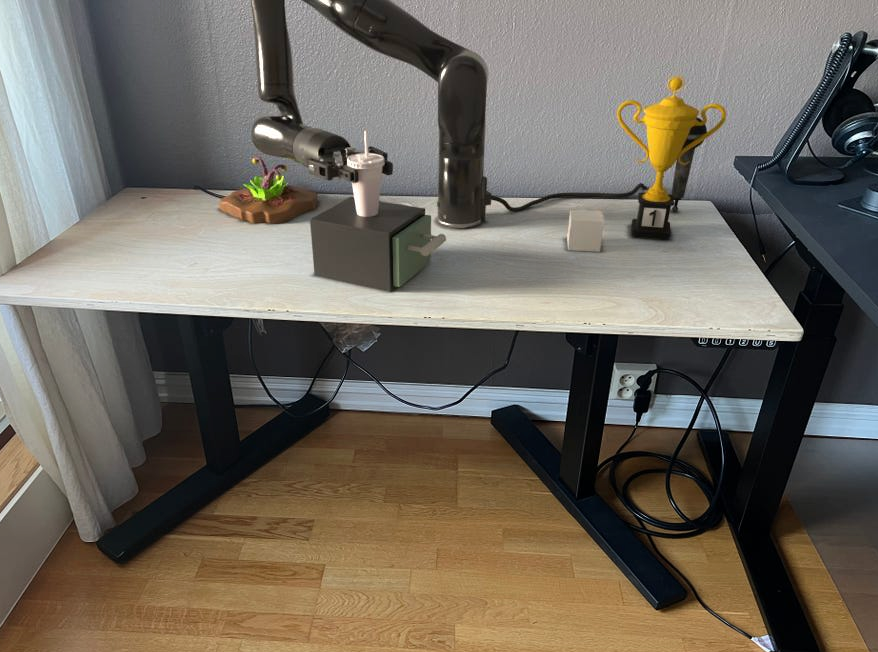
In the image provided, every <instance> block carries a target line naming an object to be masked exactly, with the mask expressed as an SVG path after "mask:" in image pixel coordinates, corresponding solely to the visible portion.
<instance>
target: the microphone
mask: <svg viewBox="0 0 878 652" xmlns="http://www.w3.org/2000/svg"><path fill="white" fill-rule="evenodd" d="M696 120H697V121H698V122H702V121H703V119H702V118H700V117H698V116H697V118H696ZM707 132H708V129H707V126H706V124H704V125H702V126H693V127H692V128H691V129H690V132H689V133H688V136H687V138H686V140H685V143H684V145H683V147H682V149H684V148H685V147H686V146H688V145H689V144H691V143H692V142H694V141H695V140H697V139H698V138H700V137H701V136H703V135H704V134H706V133H707ZM704 142H705V140H703V141H702V142H700V143H699V144H697V145H695V146H694V147H692V148H691V149H689V150H687V151H686V152H684V153H683V154H682V155H681V157H680V161H681V162H683V163H687V162H689V161H690V162H689V163H688V164H686V165H682V164H680V163H679V162H678V158H677V160H676V162H675V169H674V175H673V180H672V181H673V182H672V188H671V193H670V194H671V195H673V198H674V205H673V206H671V211H672V212H673V213H677V212H678V211H679V201H681V200H682V199H684V197H685V195H686V190H687V186H688V182H689V178H690V177H689V176H690V173H691V168H692V163H693V160H694V155H695V151H696V148H698V147H700V146H701V145H702V144H703V143H704ZM682 149H681V150H682Z"/></svg>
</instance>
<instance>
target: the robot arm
mask: <svg viewBox="0 0 878 652" xmlns="http://www.w3.org/2000/svg"><path fill="white" fill-rule="evenodd" d="M301 2H303V3H305V4H306V5H309V6H310V7H311V8H312V9H314V10H315V11H316V12H317V13H318V14H320V15H321V16H322V17H323V18H324V19H326V21H328V22H330V23H331V24H332V25H333V26H334V27H336V28H337V29H338V30H340V31H341V32H343V34H346V35H347V36H349V37H351V38H352V39H354V40H355V41H357V42H358V43H359V44H362V45H363V46H365V47H366V48H368V49H370V50H372V51H374V52H376V53H379V54H381V55H383V56H386V57H389V58H391V59H394V60H398V61H399V62H403V63H406V64H408V65H411V66H413V67H415V68H416V69H418V70H419V71H421V72H423V73H424V74H426V76H429V77H430V78H431V79H432V80H434V81H435V82H436V83H437V126H438V177H437V178H438V179H437V181H438V182H437V183H438V185H437V195H438V196H437V201H436V208H437V217H436V218H437V223H438V224H440V225H441V226H443V227H447V228H452V229H468V228H469V229H470V228H474V227H476V226H479V225H481V224H482V223H486V213H487V212H486V211H487V206H491V205H492V201H495V202H497V203H500V204H501V205H503V207H504V208H505V209H506V210H507V211H509V212H511V213H512V212H513V213H516V212H521V211H524V210H526V209H529V208H530V207H532V206H535V205H538V204H541V203H543V202H545V201H548V200H552V199H558V198H575V197H576V198H607V199H608V198H611V199H612V198H613V199H615V198H616V199H617V198H618V199H620V198H628V197H631V196H633V195H635V194H636V193H637V192H638V191H639V190H640V189H642V190H643V191H644V190H646V191H647V190H648V188H647V186H646V185H645V184H644V183H642V182H640V183H638V184H637V185H636V186H635V187H634V188H633V189H632V190H630V191H628V192H627V191H626V192H620V193H619V192H618V193H617V192H616V193H613V192H612V193H609V192H559V193H557V192H556V193H551V194H548V195H545V196H542V197H540V198H537V199H534V200H531V201H529V202H527V203H525V204H523V205H521V206H518V207H513V206H511V205H510V204H509V203H508V201H506V200H505V199H504V198H502V197H499V196H495V195H493V194H492V192H490V191H489V190H487V189H488V177H486V175H484V172H485V149H486V148H485V145H486V129H487V128H486V127H487V125H486V115H487V113H486V110H487V92H488V91H487V90H488V81H489V68H488V65H487V63H486V61H485V59H484V58H483V57H482V56H481V55H480V54H478V53H477V52H476V51H473V50H471V49H469V48H467V47H464V46H462V45H461V44H458V43H456V42H454V41H452V40H450V39H448V38H446V37H444V36H442V35H440V34H439V33H437V32H435V31H433V30H432V29H431V28H429V27H428V26H427V25H425V24H424V23H423V22H421V21H420V20H419V19H417V18H416V17H415V16H414V15H412V14H410V13H409V12H408V11H406V10H405V9H404V8H402V7H401V6H400V5H398V4H396V3H395V2H394V1H392V0H301ZM250 7H251V13H252V22H253V32H254V48H255V49H254V50H255V67H256V68H255V69H256V82H257V83H256V84H257V94H258V97H259V99H260V100H261V101H262V102H264V103H268V104H272V105H275V106H276V107H277V109H278V111H279V113H280V115H262V116H260V117H258V118H256V119H255V120H254V122H253V123H252V125H251V128H250V137H251V141H252V143H253V145H254V147H255V148H256V149H257V150H258V151H259V152H261V153H262V154H265V155H267V156H272V157H277V158H284V159H289V160H292V161H293V162H295V163H297V164H301V165H302V166H303V167H305V168H306V169H308V174H309V175H312V176H314V177H317V178H320V179H323V180H325V181H328V182H329V181H330V182H331V181H332V180H334V178H336V179H337V180H339V181H340V180H346V181H348V182H350V183H351V184H352V183H357V182H358V181H359V177H358V170H357V169H355V168H352V167H350V166H348V165H347V158H348V157H349V156H351V155H355V154H361V153H365V149H364V150H363V149H357V148H356V147H352V146H351V144H350V143H349V141H348V140H347V139H346V138H345V137H343V136H341V135H339V134H336V133H333V132H330V131H327V130H324V129H322V128H317V127H312V126H310V125H307V124H304V121H303V119H302V116H301V112H300V109H299V104H298V100H297V98H296V94H295V85H294V84H295V80H294V61H293V51H292V45H291V39H290V35H289V34H290V33H289V29H288V21H287V15H286V14H287V13H286V0H250ZM368 153H373V154H378V155H381V156H383V157H384V162H385V164H384V165H383V168H382V175H385V176H391V175H393V174H394V173H393V172H394V164H393V162H391V161H390V160H388V156H389V153H388V152H386V151H384V150H382V149H379V148H377V147H375V146H368ZM644 185H645V186H644Z"/></svg>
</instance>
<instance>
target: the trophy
mask: <svg viewBox="0 0 878 652" xmlns="http://www.w3.org/2000/svg"><path fill="white" fill-rule="evenodd" d="M685 83H686V82H685V79H684V78H683V76H681V75H673V76H672V77H670V78H669V79H668V80H667V85H666V86H667V89H668V90H669V91H670V92H671V93H673V94H672V95H671V96H666V97H664V98H663V99H662V100H661V101H660V102H656V103H653V104H650V105H647V106H645V107H644V108H643V107H642V105H641V103H640V102H639V101H637V100H632V99H631V100H626V101H623V102H622V103H621V104H620V105H619V106H618V108H617V111H616V117H617V121H618V123H619V125H620V127H621V128H622V130H624V132H625V133H626V134H627V135H628V136H629V137H630V138H631V139H632V140H633V141H634V142H635V143H636V144H637V145H638V146H639V147H640V148H642V149H643V151H644V153H646V156H645V158H644V159H641V160H640V159H639V158H638V157H636V161H637V162H638V163H644V162H646V161H648V160H649V163H650V165H651V167H652V168H654V170H655V171H656V175H655V181H654V183H653V185H652V186H651V187H649V188H648V189H647V190H646V191H641V192H638V194H637V202H638V209H637V215H636V218H632V220H631V223H630V224H631V225H630V236H631V237H632V238H636V239H637V238H638V239H647V240H648V239H649V240H662V241H669V240H671V234H672V229H671V222H670V221H669V220H670V219H669V218H670V213H671V210H672V207H673V206H674V203H675V200H674V198H673V195H671V194H672V193H668V192H667V189H666V188H665V187H664V184H663V183H664V178H665V176H664V173H665V172H667V171H669V169H671V168H673V166H674V165H676V161H677V158H678V162H679V163H680V164H682V165H686V164H688V163H689V162H690V161H689V162H687V163H683V162H681V161H680V157H681V155H682V154H683V153H684V152H686V151H687V150H689V149H691V148H692V147H694V146H695V145H697V144H699V143H700V142H702V141H703V140H704V141H705V140H706V139H708V138H709V137H711V136H712V135H714V133H716V132H718V130H719V129H720V128H722V126H723V125H724V123H725V122H726V118H727V112H726V111H727V110H726V109H725V107H724V106H723V105H722V104H719V103H710V104H707V105H705V106H704V107H703V108H702V109H701V111H700V110H698V108H696V107H694V106H693V105H689V104H687V103H685V101H684V99H683V98H681V97H678V96H676V93H679V92H681V91H682V90H683V88H684V87H685ZM627 106H634V107H636V108H637V111H636V112H635V114H634V115H633V117H632V118H633V121H634V122H635V123H637V124H644V126H645V127H646V133H647V135H646V136H647V145H646V144H645V143H644V142H643V141H642V140H641V139H640V138H639V137H638V136H637V134H635V133H634V132H633V131H632V129H630V127H629V126H628V125H627V124H626V123H625V121H624V120H623V118H622V110H624V108H626V107H627ZM709 109H716V110H718V111H719V112H720V113H721V118H720V120H719V122H718V123H716V125H715V126H714V127H712V128H711V129H710V130H709V131H708V130H707V133H706V134H704V135H703V136H701V137H700V138H698V139H697V140H695V141H694V142H692V143H691V144H689V145H688V146H686V147H685V148H684V149H682V147H683V145H684V143H685V140H686V138H687V136H688V133H689V132H690V129H691V128H692V127H693V126H702V125H704V124H705V125H706V124H707V122H708V117H707V115H706V112H707V111H708V110H709ZM642 111H643V112H644V117H642V118H639V116H640V115H641V113H642ZM699 114H700V115H701V119H702V122H698V121H697V120H696V118H697V117H698V116H699ZM704 141H703V142H704ZM681 149H682V150H681Z"/></svg>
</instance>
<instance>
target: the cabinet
mask: <svg viewBox="0 0 878 652" xmlns="http://www.w3.org/2000/svg"><path fill="white" fill-rule="evenodd" d="M424 215H426V208H425V207H419V206H413V205H406V204H400V203H394V202H388V201H381V200H379V208H378V214H377V215H375V216H371V217H363V216H359V215H357V210H356V204H355V198H354V196H349V197H348V198H346V199H344V200H342V201H340V202H339V203H337V204H335V205H333V206H331V207H329V208H328V209H325V210H323V211H322V212H320V213H318V214H317V215H315V216H313V217H311V218H309V225H310V237H311V249H312V260H313V270H314V273H313V274H314V276H316V277H320V278H325V279H330V280H334V281H339V282H344V283H348V284H352V285H353V284H354V285H358V286H361V287H367V288H370V289H371V288H372V289H375V290H376V289H377V290H381V291H386V292H392V291H393V290H394V289H396V288H397V287H396V286H393V278H392V248H391V236H392V235H394V234H395V233H397V232H398V231H399V230H401V229H402V228H404V227H405V226H407V225H408V224H410V223H411V222H412V221H414V220H415V219H417V220H418V219H420V218H421V217H423V216H424Z"/></svg>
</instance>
